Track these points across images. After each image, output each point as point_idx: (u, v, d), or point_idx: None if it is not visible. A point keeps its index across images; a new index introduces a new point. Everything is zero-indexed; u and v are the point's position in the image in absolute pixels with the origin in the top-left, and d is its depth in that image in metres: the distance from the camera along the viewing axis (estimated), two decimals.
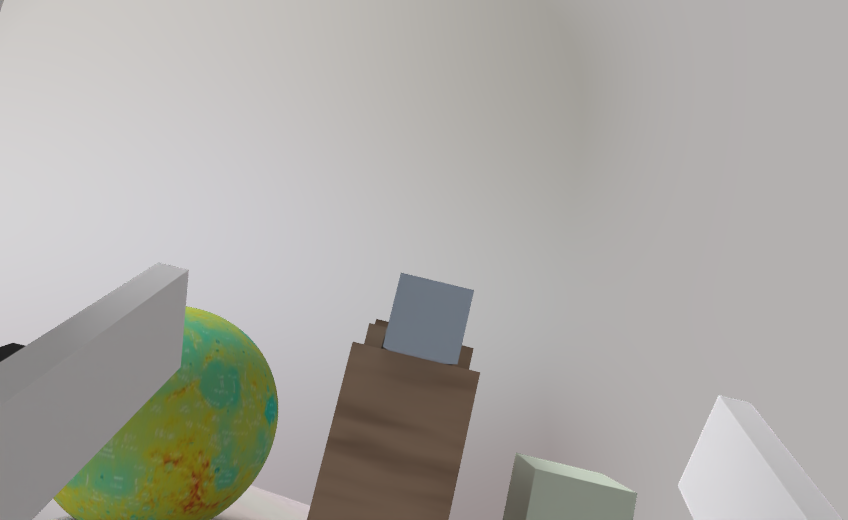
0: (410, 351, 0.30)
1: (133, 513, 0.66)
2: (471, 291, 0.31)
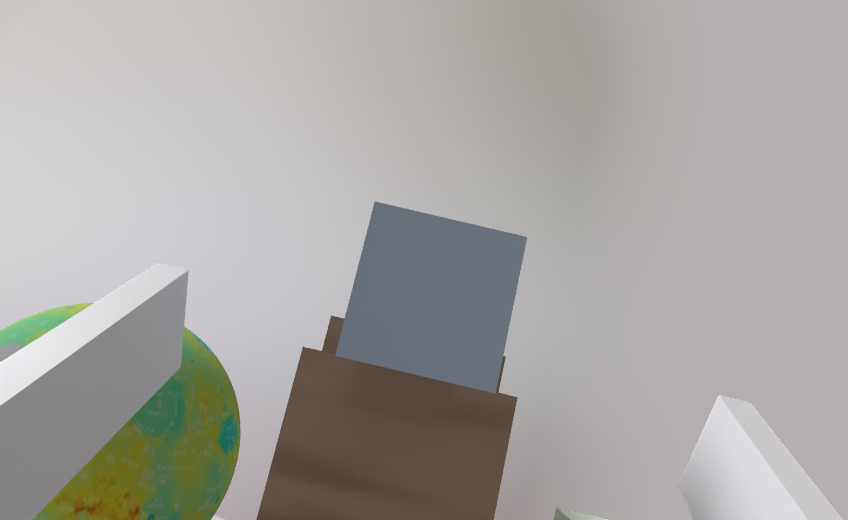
0: (394, 366, 0.14)
1: None
2: (522, 239, 0.15)
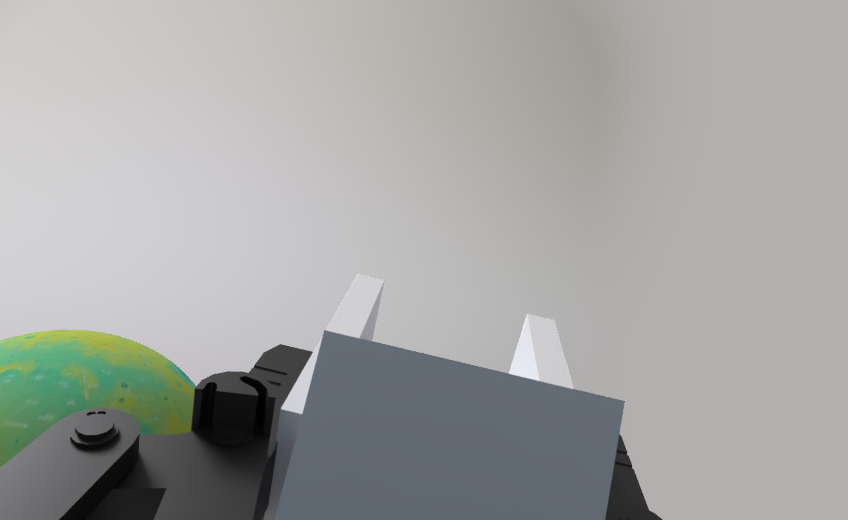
0: None
1: None
2: (615, 406, 0.07)
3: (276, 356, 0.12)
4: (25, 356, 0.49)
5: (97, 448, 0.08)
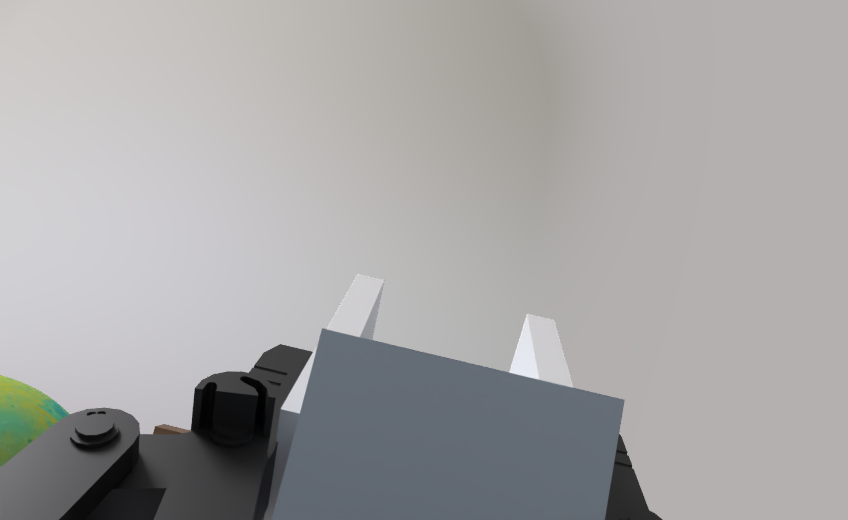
0: None
1: None
2: (614, 405, 0.07)
3: (276, 356, 0.12)
4: None
5: (97, 448, 0.08)
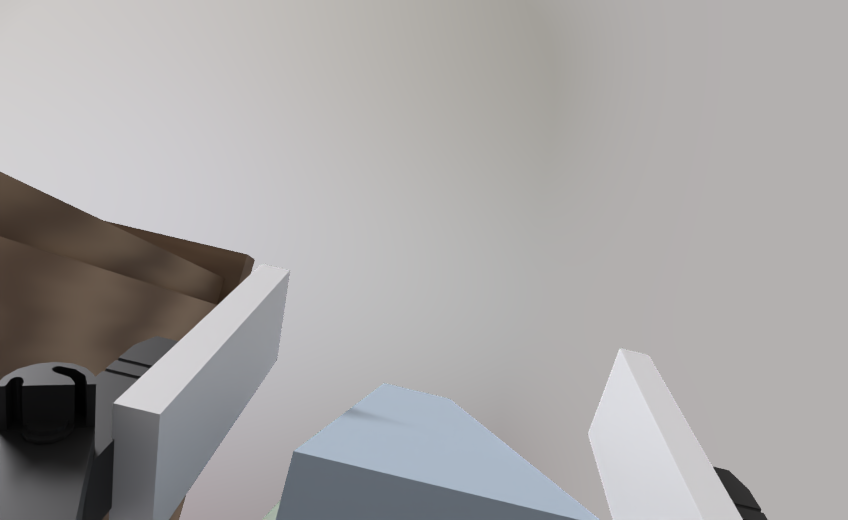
0: None
1: None
2: None
3: (147, 348, 0.12)
4: None
5: None
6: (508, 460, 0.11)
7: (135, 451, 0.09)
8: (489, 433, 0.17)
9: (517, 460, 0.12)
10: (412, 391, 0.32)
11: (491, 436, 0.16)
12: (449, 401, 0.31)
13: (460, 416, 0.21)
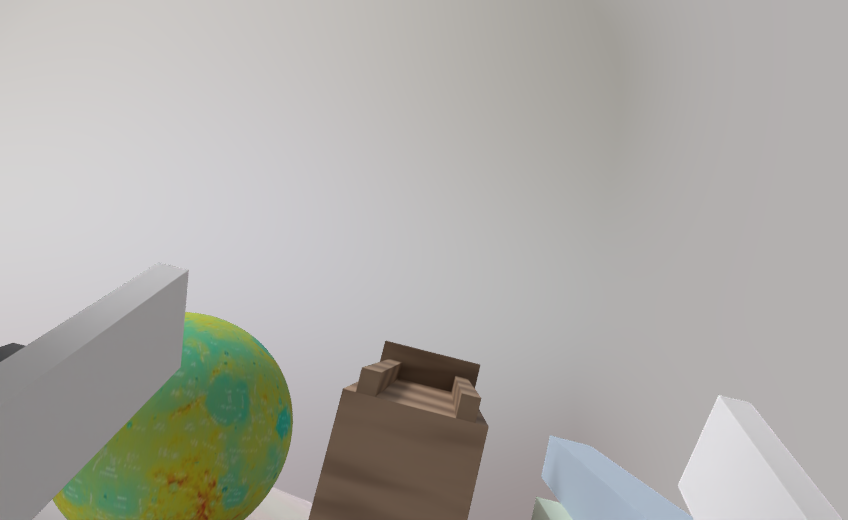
0: None
1: None
2: None
3: None
4: None
5: None
6: (685, 516, 0.33)
7: None
8: (657, 494, 0.39)
9: (687, 515, 0.34)
10: (572, 444, 0.54)
11: (661, 497, 0.38)
12: (598, 452, 0.53)
13: (630, 477, 0.43)
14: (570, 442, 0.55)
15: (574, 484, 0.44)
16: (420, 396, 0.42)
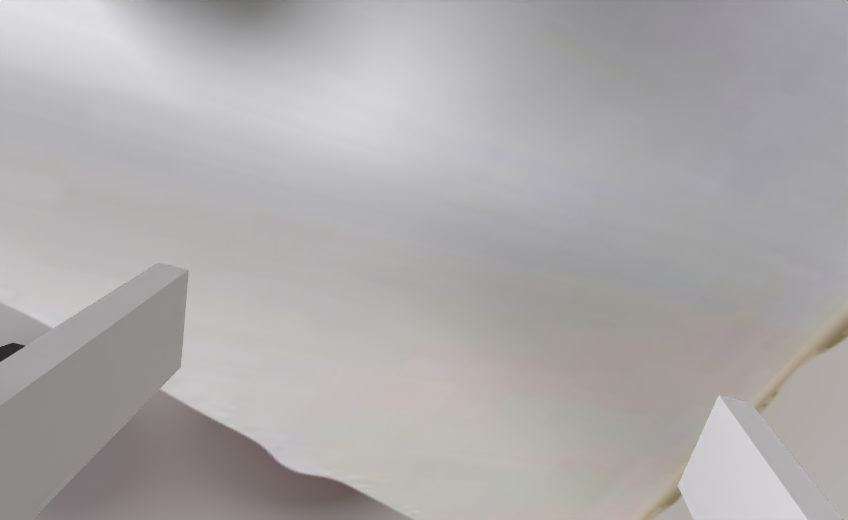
0: None
1: None
2: None
3: None
4: None
5: None
6: None
7: None
8: None
9: None
10: None
11: None
12: None
13: None
14: None
15: None
16: None
